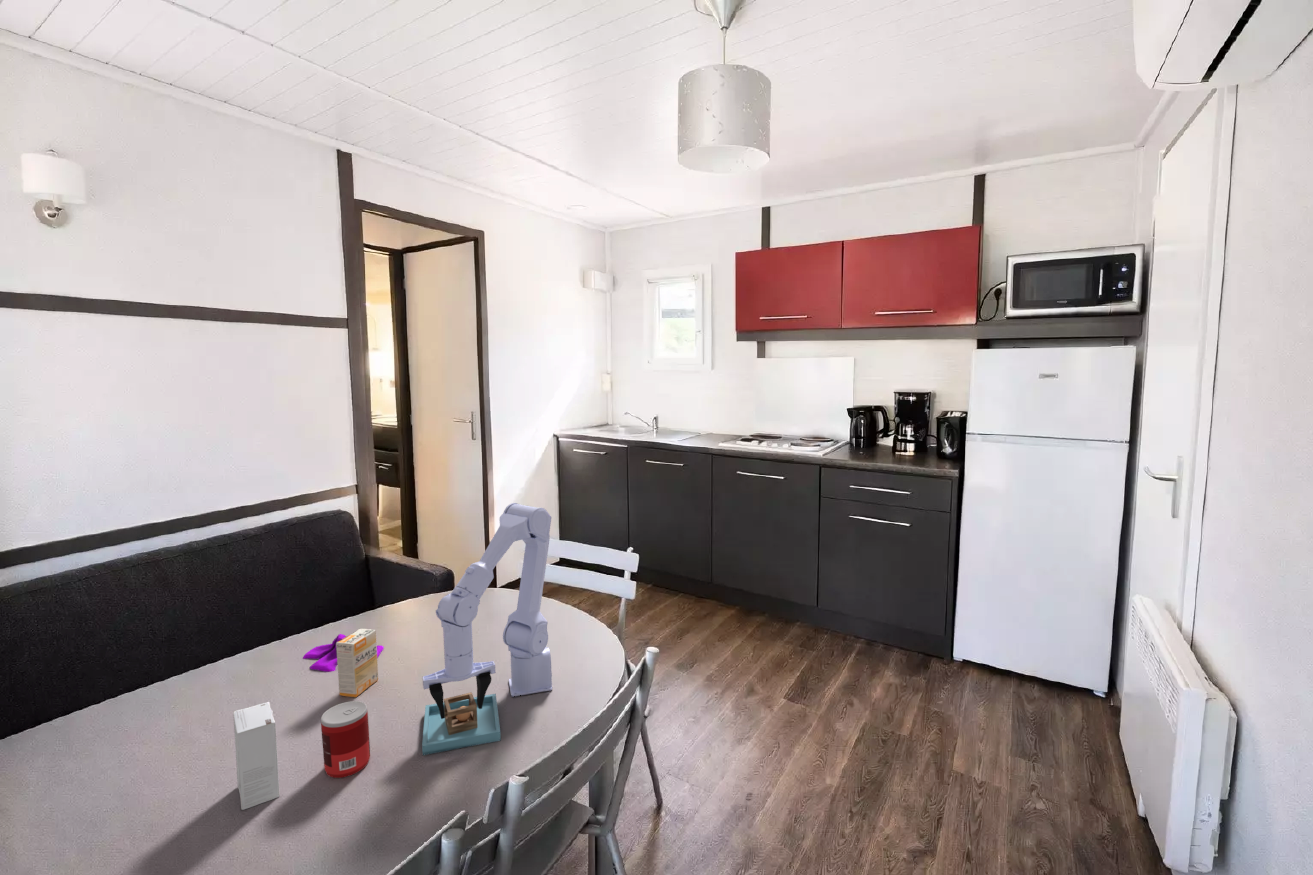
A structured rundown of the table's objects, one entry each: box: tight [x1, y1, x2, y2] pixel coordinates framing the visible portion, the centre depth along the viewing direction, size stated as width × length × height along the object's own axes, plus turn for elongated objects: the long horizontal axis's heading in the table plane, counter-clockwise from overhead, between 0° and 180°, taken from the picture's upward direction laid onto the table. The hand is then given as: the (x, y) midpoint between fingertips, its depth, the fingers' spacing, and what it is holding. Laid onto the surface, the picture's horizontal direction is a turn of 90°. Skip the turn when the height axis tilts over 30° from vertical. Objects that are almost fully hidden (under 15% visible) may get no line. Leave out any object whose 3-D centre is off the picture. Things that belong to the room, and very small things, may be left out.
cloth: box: [302, 633, 385, 673], centre depth 161 cm, size 22×19×6 cm
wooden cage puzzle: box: [443, 691, 478, 735], centre depth 128 cm, size 6×6×5 cm
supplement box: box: [336, 628, 379, 698], centre depth 143 cm, size 8×5×13 cm, turn 168°
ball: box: [456, 706, 471, 722], centre depth 128 cm, size 3×3×3 cm
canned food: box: [320, 700, 371, 779], centre depth 115 cm, size 8×8×11 cm
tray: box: [421, 693, 501, 756], centre depth 128 cm, size 15×15×2 cm
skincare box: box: [232, 701, 280, 811], centre depth 108 cm, size 8×6×15 cm
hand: (461, 711), depth 128 cm, fingers open, 7 cm apart
